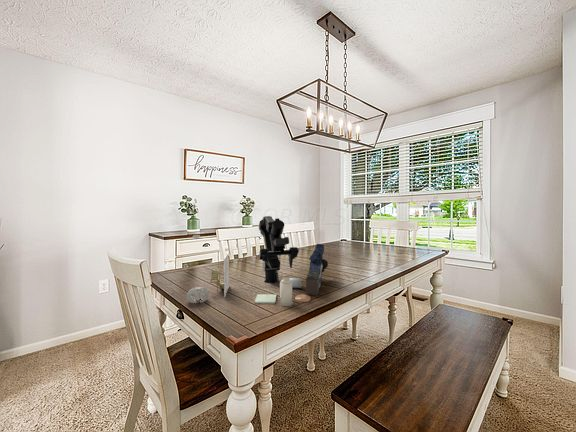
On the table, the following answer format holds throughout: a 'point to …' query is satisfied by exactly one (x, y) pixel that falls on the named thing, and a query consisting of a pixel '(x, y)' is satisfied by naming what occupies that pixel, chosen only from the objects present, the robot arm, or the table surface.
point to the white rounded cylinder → (296, 282)
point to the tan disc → (302, 298)
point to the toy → (316, 270)
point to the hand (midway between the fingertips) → (281, 268)
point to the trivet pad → (265, 299)
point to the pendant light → (197, 289)
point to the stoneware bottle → (285, 291)
